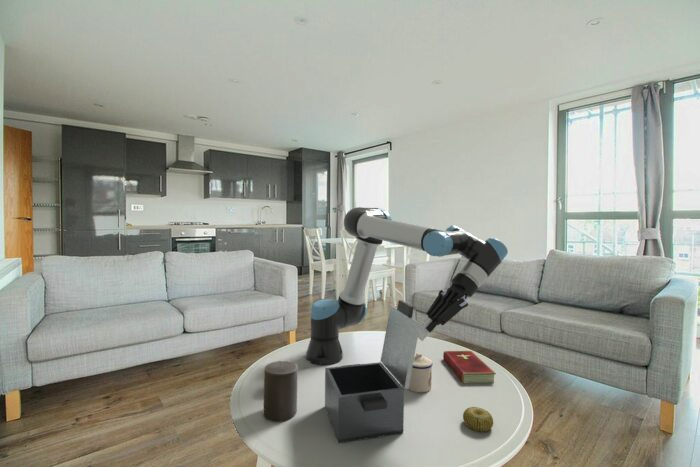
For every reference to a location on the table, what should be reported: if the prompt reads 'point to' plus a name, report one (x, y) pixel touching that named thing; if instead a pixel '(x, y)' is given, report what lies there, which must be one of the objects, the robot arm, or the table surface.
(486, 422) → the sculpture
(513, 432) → the table surface
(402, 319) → the lid
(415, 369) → the teacup with lid
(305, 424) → the table surface
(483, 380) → the hardcover book
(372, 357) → the table surface
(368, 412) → the grey storage box
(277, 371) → the pillar candle
